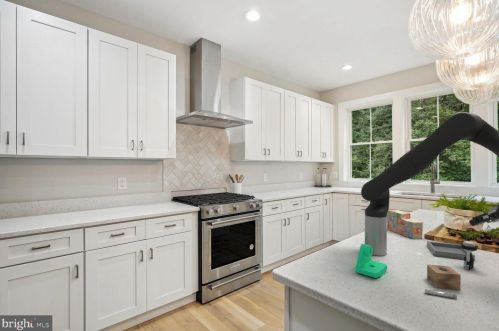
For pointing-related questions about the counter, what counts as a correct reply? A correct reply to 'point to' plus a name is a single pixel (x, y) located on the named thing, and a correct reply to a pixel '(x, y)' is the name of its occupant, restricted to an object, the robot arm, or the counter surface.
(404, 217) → the stack of blocks
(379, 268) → the camera mount
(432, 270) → the block
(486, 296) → the counter surface
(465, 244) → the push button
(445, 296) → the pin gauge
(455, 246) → the tray
